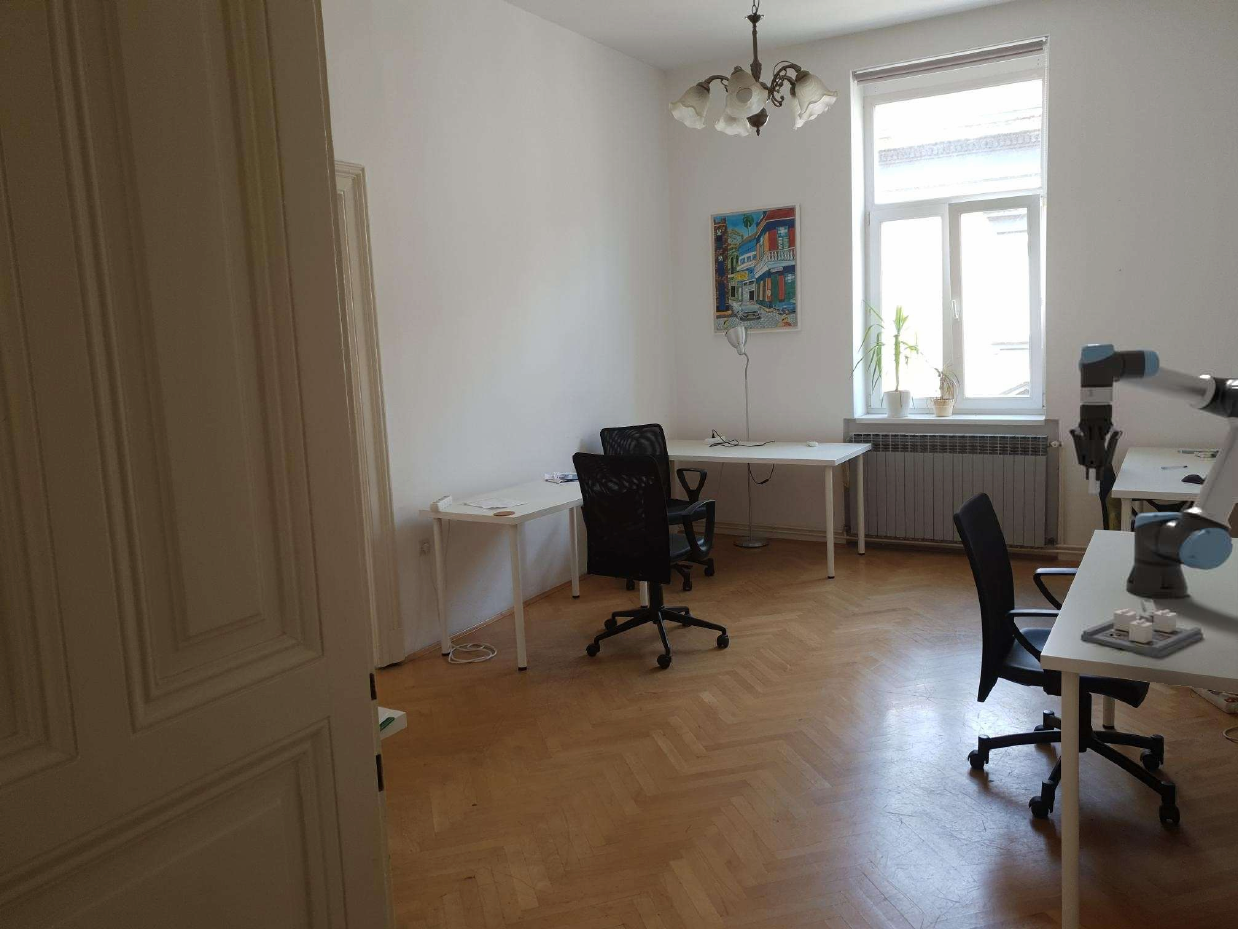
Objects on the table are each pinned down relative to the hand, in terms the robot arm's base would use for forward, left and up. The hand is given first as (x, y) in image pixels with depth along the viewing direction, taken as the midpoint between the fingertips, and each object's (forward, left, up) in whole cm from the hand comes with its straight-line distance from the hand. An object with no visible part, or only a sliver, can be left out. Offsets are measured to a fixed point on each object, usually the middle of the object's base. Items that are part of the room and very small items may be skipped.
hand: (1094, 492), depth 236 cm
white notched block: (+7, +21, -31) cm, 38 cm away
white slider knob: (+13, +15, -31) cm, 37 cm away
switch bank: (+13, +19, -32) cm, 40 cm away
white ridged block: (+19, +22, -31) cm, 42 cm away
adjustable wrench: (-7, +12, -32) cm, 35 cm away
